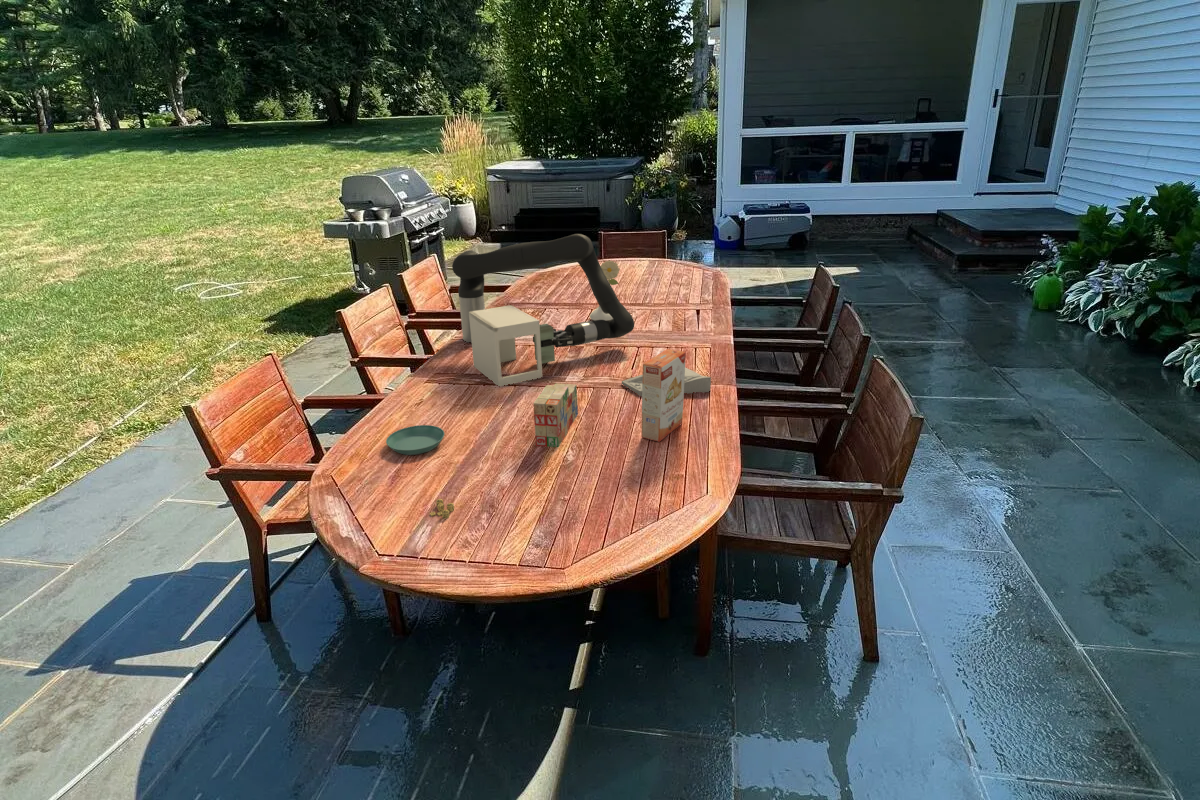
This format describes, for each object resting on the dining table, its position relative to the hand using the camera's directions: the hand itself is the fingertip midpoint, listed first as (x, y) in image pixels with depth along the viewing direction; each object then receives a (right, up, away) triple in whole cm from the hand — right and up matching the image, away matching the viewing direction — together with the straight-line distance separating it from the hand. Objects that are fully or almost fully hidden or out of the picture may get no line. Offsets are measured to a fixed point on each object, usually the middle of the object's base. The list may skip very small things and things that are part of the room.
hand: (537, 342), depth 225 cm
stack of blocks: (+10, -28, -44) cm, 53 cm away
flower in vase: (+23, +13, +53) cm, 59 cm away
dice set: (-12, -44, -81) cm, 93 cm away
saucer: (-27, -32, -51) cm, 66 cm away
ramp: (+41, -17, -18) cm, 48 cm away
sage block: (+2, -6, +4) cm, 7 cm away
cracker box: (+38, -28, -46) cm, 66 cm away
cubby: (-9, -10, -2) cm, 14 cm away
